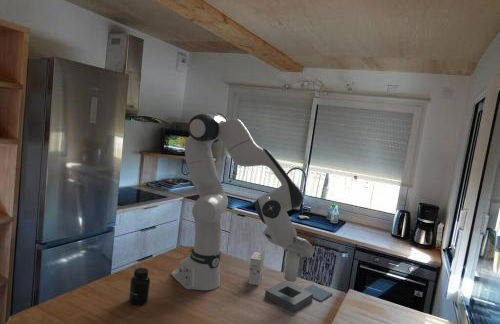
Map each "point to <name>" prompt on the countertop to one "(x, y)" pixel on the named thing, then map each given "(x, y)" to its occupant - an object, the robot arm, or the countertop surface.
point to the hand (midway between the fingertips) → (294, 253)
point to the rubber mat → (318, 293)
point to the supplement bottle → (139, 287)
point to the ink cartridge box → (256, 268)
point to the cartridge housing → (290, 303)
